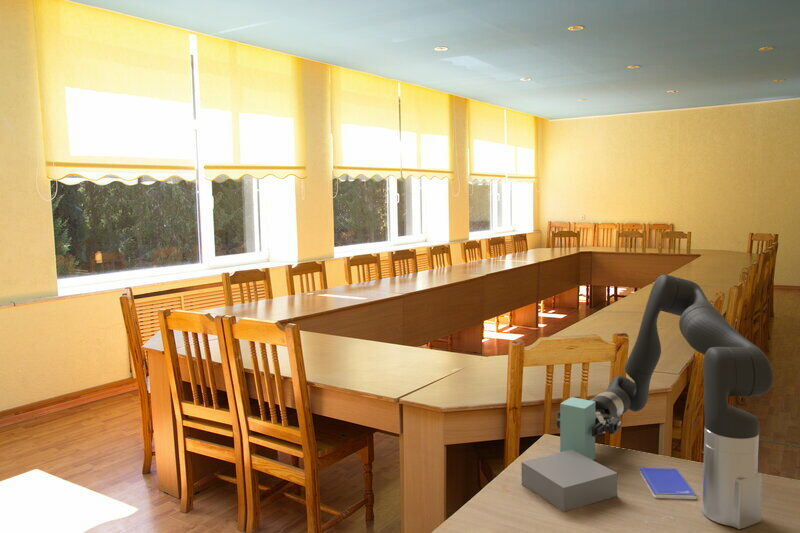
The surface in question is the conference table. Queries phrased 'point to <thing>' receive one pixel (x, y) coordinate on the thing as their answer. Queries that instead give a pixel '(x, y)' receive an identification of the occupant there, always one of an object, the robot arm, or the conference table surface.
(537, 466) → the podium
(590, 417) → the carton
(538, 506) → the conference table surface
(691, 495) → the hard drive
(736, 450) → the robot arm
